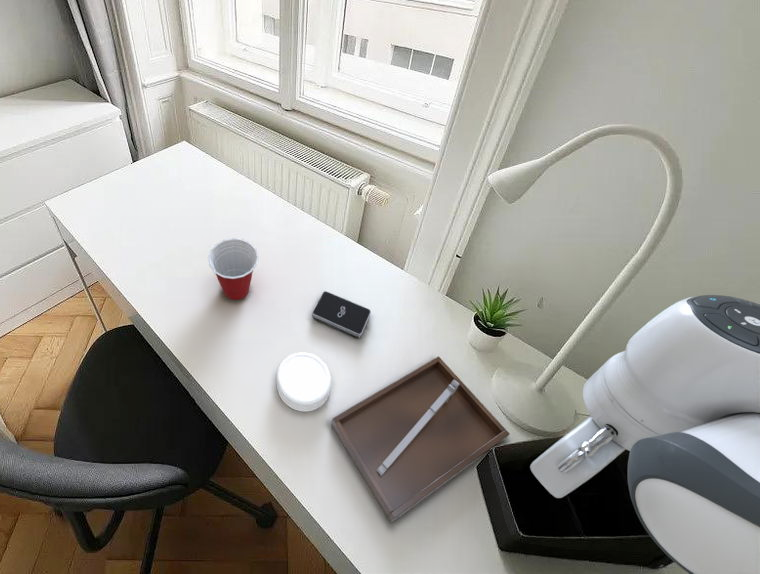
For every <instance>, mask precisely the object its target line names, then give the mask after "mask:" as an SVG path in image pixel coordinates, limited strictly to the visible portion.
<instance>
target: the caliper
mask: <svg viewBox="0 0 760 574" xmlns="http://www.w3.org/2000/svg"><path fill="white" fill-rule="evenodd" d="M458 386H459V383H458V382H457V381H456V380H453V381H452V382H451V384H449V386H448V388H447V389H446V390H445V391H444V392H443V393H442V394H441V396H440V397H439V398H438V399H437V400H436V401H435V403H434V404H433V405H432V406H431V407H430V409H429V410H428V411H427V412H426V413H425V414H424V416H423V417H422V418H421V419H420V420H419V421H418V423H417V424H416V425H415V426H414V427H413V428H412V429H411V431H410V432H409V433H408V434H407V435H406V436H405V438H404V439H403V440H402V441H401V442H400V443H399V444H398V446H397V447H396V448H395V449H394V450H393V451H392V453H391V454H390V455H389V456H388V457H387V458H386V460H385V461H384V462H383V463H382V465H381V466H380V467H379V468H378V469H377V472H378V473H379V474H380V475H381V476H382V475H383V474H384V473H385V471H386V470H388V468H389V467H390V466H391V465H392V464H393V463H394V461H395V460H396V459H397V458H398V457H399V455H400V454H401V453H402V452H403V451H404V450H405V448H406V447H407V446H408V445H409V444H410V443H411V441H412V440H413V439H414V438H415V437H416V436H417V434H418V433H419V432H420V431H421V430H422V429H423V427H424V426H425V425H426V424H427V423H428V422H429V420H430V419H431V418H432V417H433V416H434V415H435V414H436V413H437V411H438V410H439V409H440V408H441V407H442V406H443V404H444V403H445V402H446V403H447V402H448V400H449V398H450V396H453V394H454V393H455V391H456V390H457V388H458Z"/></svg>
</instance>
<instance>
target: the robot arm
mask: <svg viewBox="0 0 760 574" xmlns="http://www.w3.org/2000/svg"><path fill="white" fill-rule="evenodd" d="M582 399H583V402H584V406H585V409H586V410H587V412H588V414H589V416H588V417H587V418H586V419H584V421H582V422H581V423H579V424H578V425H577V426H575V427H574V428H573V429H571V430H570V431H569V432H567V433H566V434H565V435H563V436H562V437H561V438H560V439H558V440H557V441H556V442H555V443H554V444H552V445H551V446H549V447H548V448H547V449H546V450H544V452H543V453H541V454H540V455H539V456H538V457H537V458H536V459H534V460H533V461H532V462H531V464H530V466H529V469H530V471H531V473H532V474H533V476H534V477H535V478H536V480H538V482H539V483H540V485H542V486H543V487H544V489H545V490H546V491H547V492H548V493H549V494H550V495H552V496H553V498H556V499H562V498H564V497H565V496H567V495H568V494H571V493H572V492H573V491H575V490H576V489H578V488H579V487H580V486H582V485H583V484H585V483H587V482H588V481H589V480H591V479H592V478H593V477H594V476H596V475H597V474H598V473H600V472H601V471H602V470H603V469H604V468H606V467H607V466H608V465H609V464H611V463H612V462H613V461H614V460H615V459H616V458H617V457H619V456H621V454H622V453H624V452H625V451H626V450H627V451H629V454H628V460H627V470H626V471H627V472H626V474H627V486H628V492H629V496H630V500H631V503H632V506H633V509H634V511H635V513H636V515H637V518H638V520H639V522H640V524H641V525H642V527H643V528H644V530H645V532H646V533H647V535H649V537H650V538H651V539H652V540H653V542H654V544H656V545H657V547H659V549H660V550H661V551H662V552H663V553H664V554H665V555H666V556H667V557H668V558H669V559H670V560H671V561H673V562H674V563H675V564H676V565H677V566H678V567H680V569H682V570H683V571H684V572H686V573H687V574H760V303H757V302H754V301H751V300H748V299H744V298H739V297H735V296H729V295H719V294H703V295H702V294H701V295H695V296H690V297H687V298H684V299H680V300H679V301H677V302H674V303H673V304H672V305H670V306H669V307H667V308H665V309H664V310H662V311H661V312H659V313H658V314H657V315H656V316H654V317H652V318H651V319H650V320H649V321H648V322H647V323H646V324H645V325H643V326H642V327H641V328H640V329H639V330H638V331H637V332H635V333H634V334H633V335H632V337H631V338H630V339H629V340H628V342H627V344H626V347H625V350H624V351H620V352H618V353H615V354H614V355H613V356H611V357H610V358H608V359H607V361H605V362H604V364H602V365H601V366H600V367H599V368H598V370H596V371H595V372H594V373H593V374H592V375H591V376H590V377H589V378H588V379H587V380H586V381H585V383H584V385H583V388H582Z"/></svg>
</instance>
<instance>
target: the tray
mask: <svg viewBox="0 0 760 574" xmlns="http://www.w3.org/2000/svg"><path fill="white" fill-rule="evenodd" d="M453 380H456V381H457V382H458V383H459V386H458V388H457V390H456V391H455V393H454V394H453V396H450V398H449V400H448V402H447V403H446V402H445V403H444V404H443V406H442V407H441V408H440V409H439V410H438V411H437V413H436V414H435V415H434V416H433V417H432V418H431V419H430V420H429V422H428V423H427V424H426V425H425V426H424V427H423V429H422V430H421V431H420V432H419V433H418V434H417V436H416V437H415V438H414V439H413V440H412V441H411V443H410V444H409V445H408V446H407V447H406V448H405V450H404V451H403V452H402V453H401V454H400V455H399V457H398V458H397V459H396V460H395V461H394V463H393V464H392V465H391V466H390V467H389V468H388V470H386V471H385V473H384V474H383V475H382V476H381V475H380V474H379V473H378V472H377V469H378V468H379V467H380V466H381V465H382V463H383V462H384V461H385V460H386V458H387V457H388V456H389V455H390V454H391V453H392V451H393V450H394V449H395V448H396V447H397V446H398V444H399V443H400V442H401V441H402V440H403V439H404V438H405V436H406V435H407V434H408V433H409V432H410V431H411V429H412V428H413V427H414V426H415V425H416V424H417V423H418V421H419V420H420V419H421V418H422V417H423V416H424V414H425V413H426V412H427V411H428V410H429V409H430V407H431V406H432V405H433V404H434V403H435V401H436V400H437V399H438V398H439V397H440V396H441V394H442V393H443V392H444V391H445V390H446V389H447V388H448V386H449V384H451V382H452V381H453ZM330 424H331V427H332V428H333V430H334V432H335V433H336V434H337V436H338V438H339V440H340V442H341V443H342V444H343V446H344V449H346V451H347V454H348V455H349V456H350V458H351V460H352V461H353V463H354V464H355V466H356V468H357V470H358V471H359V473H360V474H361V476H362V477H363V479H364V481H365V482H366V484H367V486H368V488H369V489H370V491H371V492H372V494H373V496H374V497H375V499H376V501H377V502H378V504H379V506H380V507H381V509H382V510H383V512H384V514H385V515H386V518H387V519H388V520H389V522H390V523H391V524H392V523H394V522H395V521H397V520H398V519H399V518H400V517H402V516H403V515H404V514H406V513H407V512H408V511H410V510H411V509H412V508H414V507H415V506H416V505H418V504H420V503H421V502H422V501H424V500H425V499H427V498H428V497H429V496H430V495H432V494H434V493H435V492H436V491H437V490H438V489H440V488H441V487H443V486H444V485H445V484H447V483H448V482H449V481H451V480H452V479H453V478H455V477H456V476H457V475H459V474H460V473H462V472H463V471H464V470H466V469H467V468H469V467H470V466H471V465H473V464H474V463H475V462H476V461H478V460H479V459H480V458H482V457H484V456H485V455H486V454H487V453H489V452H490V451H491V450H492V449H491V448H492V447H494V446H496V447H497V446H498V445H499V444H501V443H503V442H504V441H505V440H506V439H507V438H508V437H509V436H510V432H509V431H508V430H507V429H506V428H505V427H504V426H503V424H501V422H500V421H499V420H498V419H497V417H495V416H494V415H493V413H491V412H490V411H489V409H488V408H487V407H486V406H485V405H484V404H483V402H481V401H480V400H479V399H478V398H477V396H476V395H475V394H474V393H473V392H472V391H471V390H470V388H468V386H467V385H466V384H465V383H464V382H463V381H462V380H461V378H459V377H458V376H457V374H456V373H455V372H454V371H453V370H452V369H451V368H450V367H449V366H448V365H447V363H445V362H444V360H443V359H442V358H441V357H440V356H439V355H438V356H436V357H435V358H432V359H431V360H429V361H428V362H426V363H424V364H422V365H421V366H419V367H418V368H416V369H414V370H412V371H410V372H409V373H407V374H406V375H404V376H402V377H400V378H399V379H397V380H396V381H394V382H392V383H390V384H389V385H387V386H385V387H383V388H382V389H380V390H379V391H377V392H375V393H374V394H372V395H369V397H366V398H365V399H363V400H361V401H360V402H358V403H356V404H355V405H353V406H351V407H350V408H348V409H346V410H344V411H343V412H341V413H339V414H338V415H336V416H334V417H332V419H331V423H330ZM494 448H495V447H494ZM490 449H491V450H490Z"/></svg>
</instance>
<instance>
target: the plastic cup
mask: <svg viewBox="0 0 760 574" xmlns="http://www.w3.org/2000/svg"><path fill="white" fill-rule="evenodd" d="M259 257H260V256H259V253H258V249H257V248H256V247H255V246H254V245H253V244H252V242H250V241H248V240H246V239H244V238H238V237H231V238H225V239H223V240H221V241H219V242H217V243H215V244H214V246H213V247H212V248H211V249H210V250H209V253H208V257H207V261H208V266H209V267H210V269H211V270H212V271H213V273H214V274H215V276H216V279H217V281H218V283H219V285H220V287H221V289H222V292H223V294H224V295H225V296H226V299H229V300H231V301H239V300H242V299H244V298H245V297H246V296H247V295H248V294H249V290H250V286H251V282H252V278H253V272H254V270H255V269H256V267H257V266H258V263H259Z"/></svg>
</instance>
